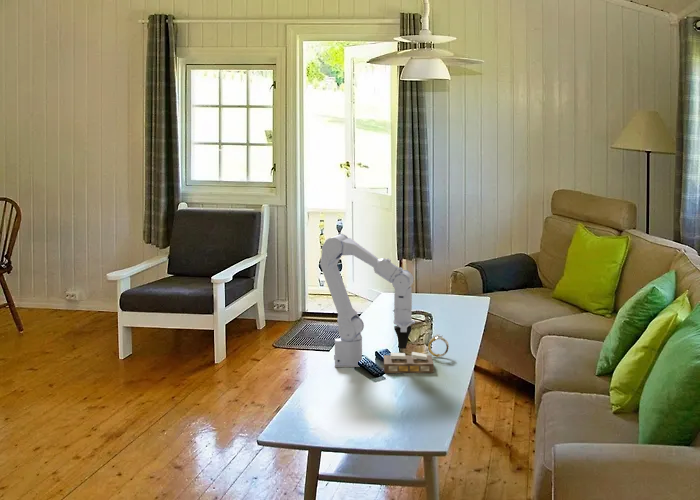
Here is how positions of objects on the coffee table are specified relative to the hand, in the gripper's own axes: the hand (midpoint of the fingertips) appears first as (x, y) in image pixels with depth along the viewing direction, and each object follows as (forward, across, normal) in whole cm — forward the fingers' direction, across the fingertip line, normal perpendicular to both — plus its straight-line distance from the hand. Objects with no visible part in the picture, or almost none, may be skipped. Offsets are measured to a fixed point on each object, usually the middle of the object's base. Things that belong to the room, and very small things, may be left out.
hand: (402, 347), depth 278 cm
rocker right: (+3, 0, -5) cm, 6 cm away
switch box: (+7, 0, -2) cm, 7 cm away
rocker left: (+3, 0, +2) cm, 4 cm away
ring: (+7, +13, -13) cm, 20 cm away
